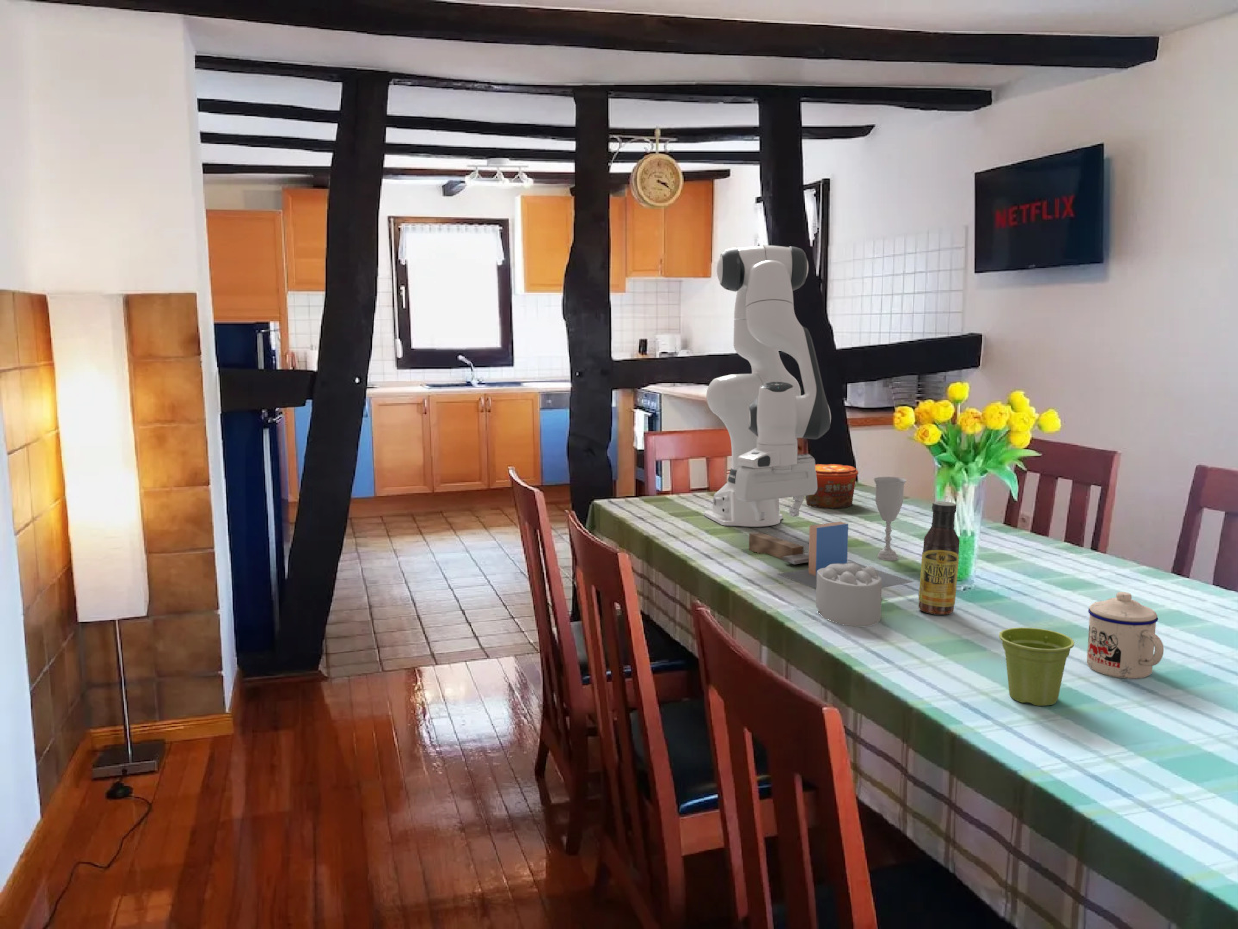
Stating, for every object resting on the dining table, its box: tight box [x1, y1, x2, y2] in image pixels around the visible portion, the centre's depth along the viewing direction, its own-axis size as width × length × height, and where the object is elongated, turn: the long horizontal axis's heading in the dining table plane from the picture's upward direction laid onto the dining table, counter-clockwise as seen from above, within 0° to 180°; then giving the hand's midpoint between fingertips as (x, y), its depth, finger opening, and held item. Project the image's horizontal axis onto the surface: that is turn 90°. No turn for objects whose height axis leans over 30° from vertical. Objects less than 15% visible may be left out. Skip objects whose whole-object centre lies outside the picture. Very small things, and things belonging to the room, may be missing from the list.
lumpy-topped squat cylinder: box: [815, 562, 883, 627], centre depth 165 cm, size 10×13×9 cm
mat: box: [777, 561, 914, 590], centre depth 188 cm, size 18×20×1 cm
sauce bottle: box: [918, 500, 960, 616], centre depth 166 cm, size 6×6×20 cm
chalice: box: [873, 476, 907, 561], centre depth 202 cm, size 7×7×18 cm
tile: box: [808, 521, 849, 576], centre depth 191 cm, size 2×8×10 cm, turn 117°
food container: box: [805, 463, 859, 509], centre depth 267 cm, size 16×16×11 cm
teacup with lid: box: [1086, 591, 1165, 680], centre depth 136 cm, size 12×9×12 cm
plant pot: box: [998, 627, 1075, 707], centre depth 128 cm, size 9×9×9 cm
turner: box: [748, 532, 809, 565], centre depth 206 cm, size 20×8×4 cm, turn 27°
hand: (777, 518), depth 206 cm, fingers open, 8 cm apart
